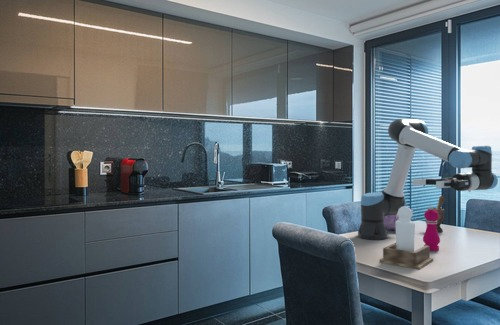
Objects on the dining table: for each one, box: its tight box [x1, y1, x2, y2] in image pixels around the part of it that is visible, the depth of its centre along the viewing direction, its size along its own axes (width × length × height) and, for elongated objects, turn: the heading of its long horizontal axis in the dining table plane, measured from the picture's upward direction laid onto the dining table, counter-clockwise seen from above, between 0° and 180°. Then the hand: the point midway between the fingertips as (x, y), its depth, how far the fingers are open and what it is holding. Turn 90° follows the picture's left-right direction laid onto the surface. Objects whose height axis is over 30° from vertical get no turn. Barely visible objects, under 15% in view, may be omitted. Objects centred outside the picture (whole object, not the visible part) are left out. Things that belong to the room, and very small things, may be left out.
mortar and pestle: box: [427, 195, 446, 233], centre depth 225 cm, size 12×9×20 cm
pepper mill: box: [422, 206, 441, 252], centre depth 182 cm, size 7×7×20 cm
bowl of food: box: [384, 208, 414, 231], centre depth 233 cm, size 20×20×12 cm
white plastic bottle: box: [395, 205, 416, 252], centre depth 161 cm, size 6×6×22 cm
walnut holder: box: [379, 242, 434, 270], centre depth 162 cm, size 16×16×6 cm
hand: (424, 183), depth 164 cm, fingers open, 13 cm apart
